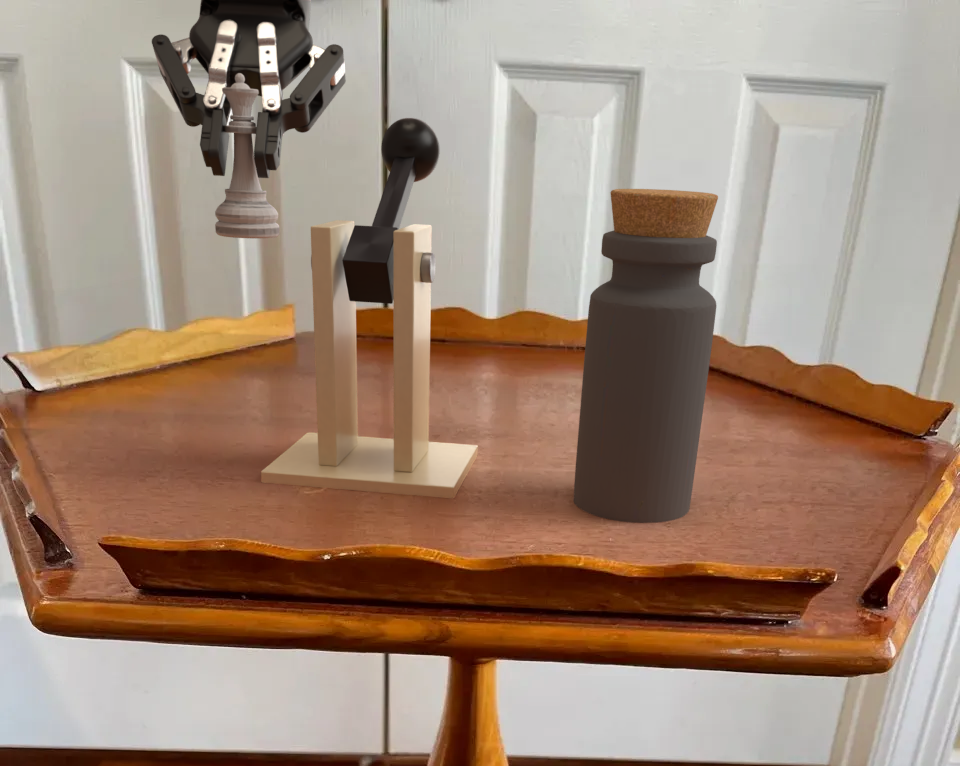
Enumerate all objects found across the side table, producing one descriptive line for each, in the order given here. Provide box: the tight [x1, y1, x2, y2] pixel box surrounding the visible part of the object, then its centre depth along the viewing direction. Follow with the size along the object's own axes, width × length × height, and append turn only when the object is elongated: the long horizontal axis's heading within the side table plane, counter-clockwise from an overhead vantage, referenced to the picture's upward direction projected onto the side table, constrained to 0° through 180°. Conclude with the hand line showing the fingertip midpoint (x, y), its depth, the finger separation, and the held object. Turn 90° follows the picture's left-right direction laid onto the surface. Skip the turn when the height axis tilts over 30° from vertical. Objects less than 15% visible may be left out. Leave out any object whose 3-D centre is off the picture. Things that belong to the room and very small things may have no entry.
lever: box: [342, 117, 441, 305], centre depth 53 cm, size 13×3×3 cm, turn 171°
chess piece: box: [214, 73, 281, 239], centre depth 70 cm, size 4×4×10 cm
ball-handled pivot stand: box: [260, 219, 479, 499], centre depth 53 cm, size 8×10×13 cm
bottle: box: [572, 188, 719, 524], centre depth 48 cm, size 6×6×15 cm
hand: (239, 166), depth 68 cm, fingers closed on chess piece, 2 cm apart
